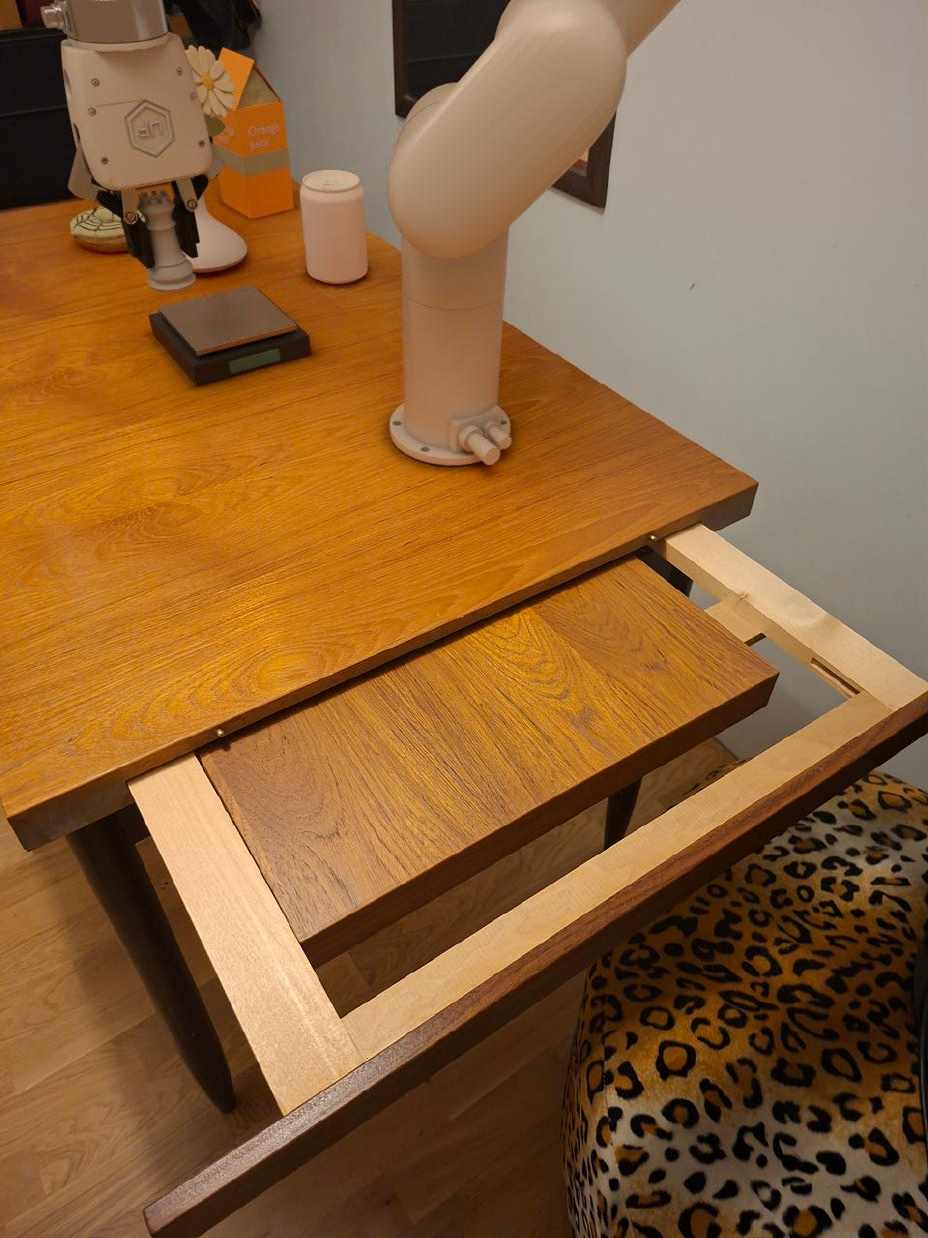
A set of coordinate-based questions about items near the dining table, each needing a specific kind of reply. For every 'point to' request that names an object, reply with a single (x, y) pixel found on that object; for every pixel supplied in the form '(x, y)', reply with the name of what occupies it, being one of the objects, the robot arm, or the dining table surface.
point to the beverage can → (334, 226)
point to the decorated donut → (100, 230)
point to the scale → (230, 353)
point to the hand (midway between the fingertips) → (166, 255)
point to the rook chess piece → (164, 245)
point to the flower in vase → (215, 93)
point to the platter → (226, 320)
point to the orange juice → (253, 144)
